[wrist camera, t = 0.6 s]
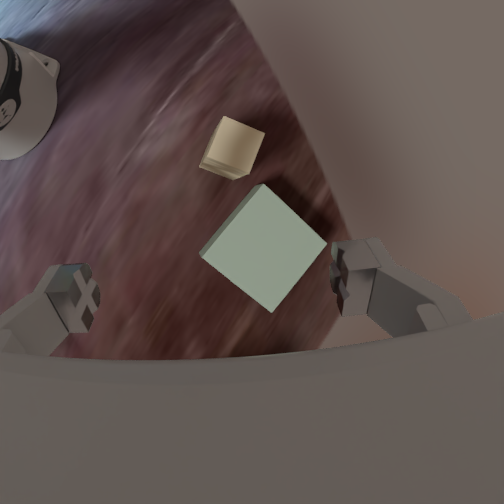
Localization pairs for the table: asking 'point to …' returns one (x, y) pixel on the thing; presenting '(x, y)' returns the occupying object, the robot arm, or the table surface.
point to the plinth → (263, 247)
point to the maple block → (232, 149)
